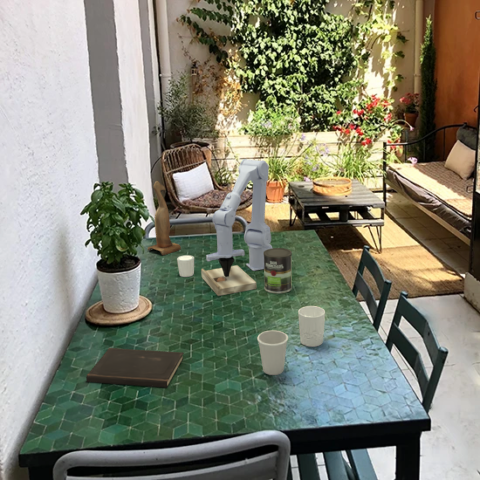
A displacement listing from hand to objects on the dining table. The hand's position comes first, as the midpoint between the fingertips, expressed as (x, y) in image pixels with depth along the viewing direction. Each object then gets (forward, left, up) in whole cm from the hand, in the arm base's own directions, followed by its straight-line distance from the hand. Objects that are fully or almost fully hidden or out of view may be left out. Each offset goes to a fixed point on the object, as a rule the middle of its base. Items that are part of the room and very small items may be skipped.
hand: (226, 275), depth 220 cm
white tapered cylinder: (+11, -17, -4) cm, 21 cm away
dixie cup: (+9, +64, -4) cm, 65 cm away
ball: (+2, 0, -2) cm, 3 cm away
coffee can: (-16, +12, -4) cm, 20 cm away
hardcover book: (+44, +48, -4) cm, 65 cm away
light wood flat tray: (-1, -1, -3) cm, 4 cm away
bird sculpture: (+12, -50, -4) cm, 52 cm away
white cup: (-8, +54, -4) cm, 55 cm away
